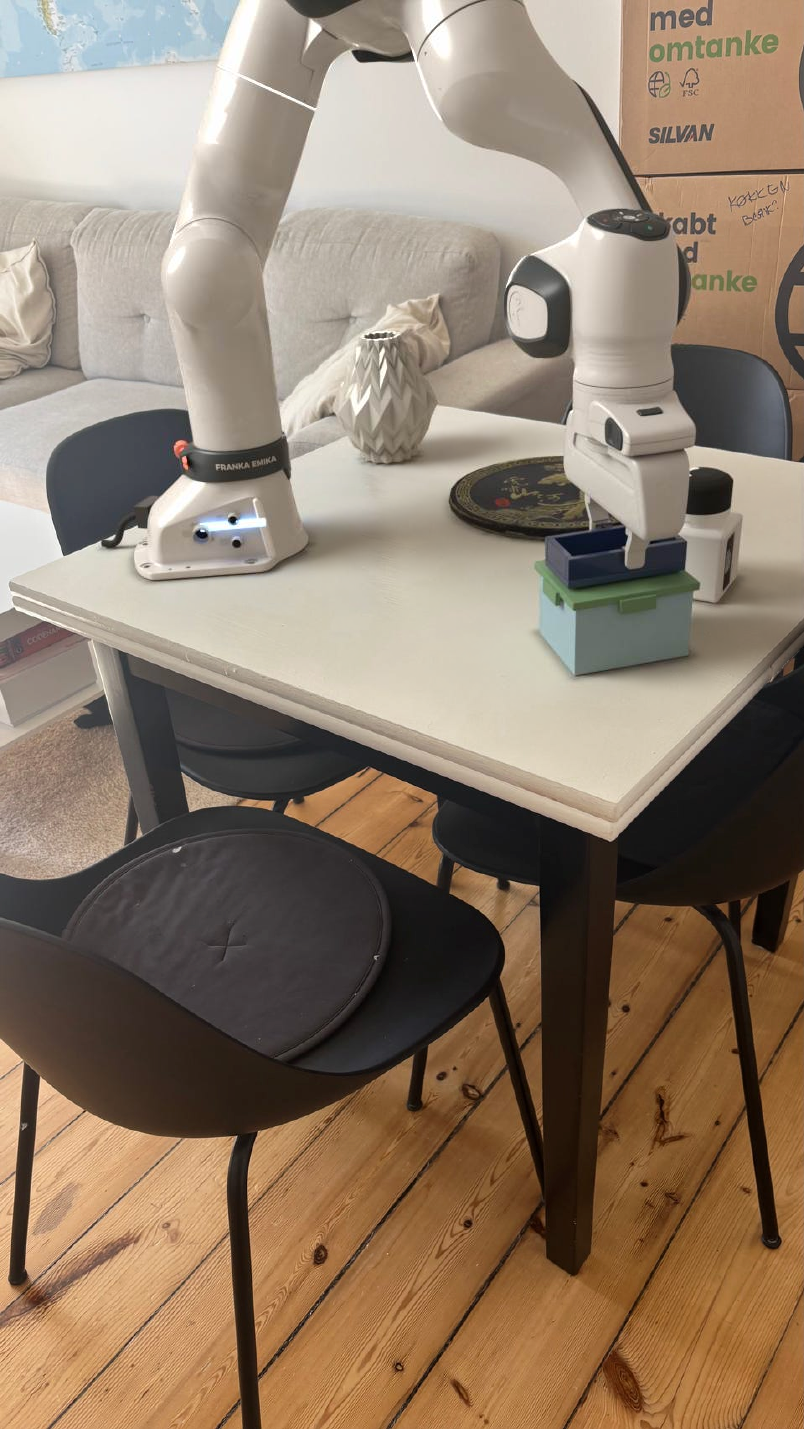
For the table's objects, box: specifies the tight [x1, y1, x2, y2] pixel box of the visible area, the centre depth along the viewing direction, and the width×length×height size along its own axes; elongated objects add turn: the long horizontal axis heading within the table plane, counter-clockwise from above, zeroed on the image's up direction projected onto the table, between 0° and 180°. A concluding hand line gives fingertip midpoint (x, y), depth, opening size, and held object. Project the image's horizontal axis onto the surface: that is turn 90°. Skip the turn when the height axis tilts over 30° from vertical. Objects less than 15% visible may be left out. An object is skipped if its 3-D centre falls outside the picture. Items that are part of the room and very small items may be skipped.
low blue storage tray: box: [544, 525, 687, 589], centre depth 103 cm, size 12×6×3 cm, turn 103°
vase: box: [331, 330, 439, 465], centre depth 162 cm, size 16×16×18 cm
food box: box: [533, 559, 700, 676], centre depth 106 cm, size 14×12×8 cm
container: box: [678, 466, 744, 604], centre depth 115 cm, size 8×8×13 cm
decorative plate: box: [448, 455, 623, 541], centre depth 144 cm, size 30×2×30 cm
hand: (616, 551), depth 103 cm, fingers closed on low blue storage tray, 6 cm apart
